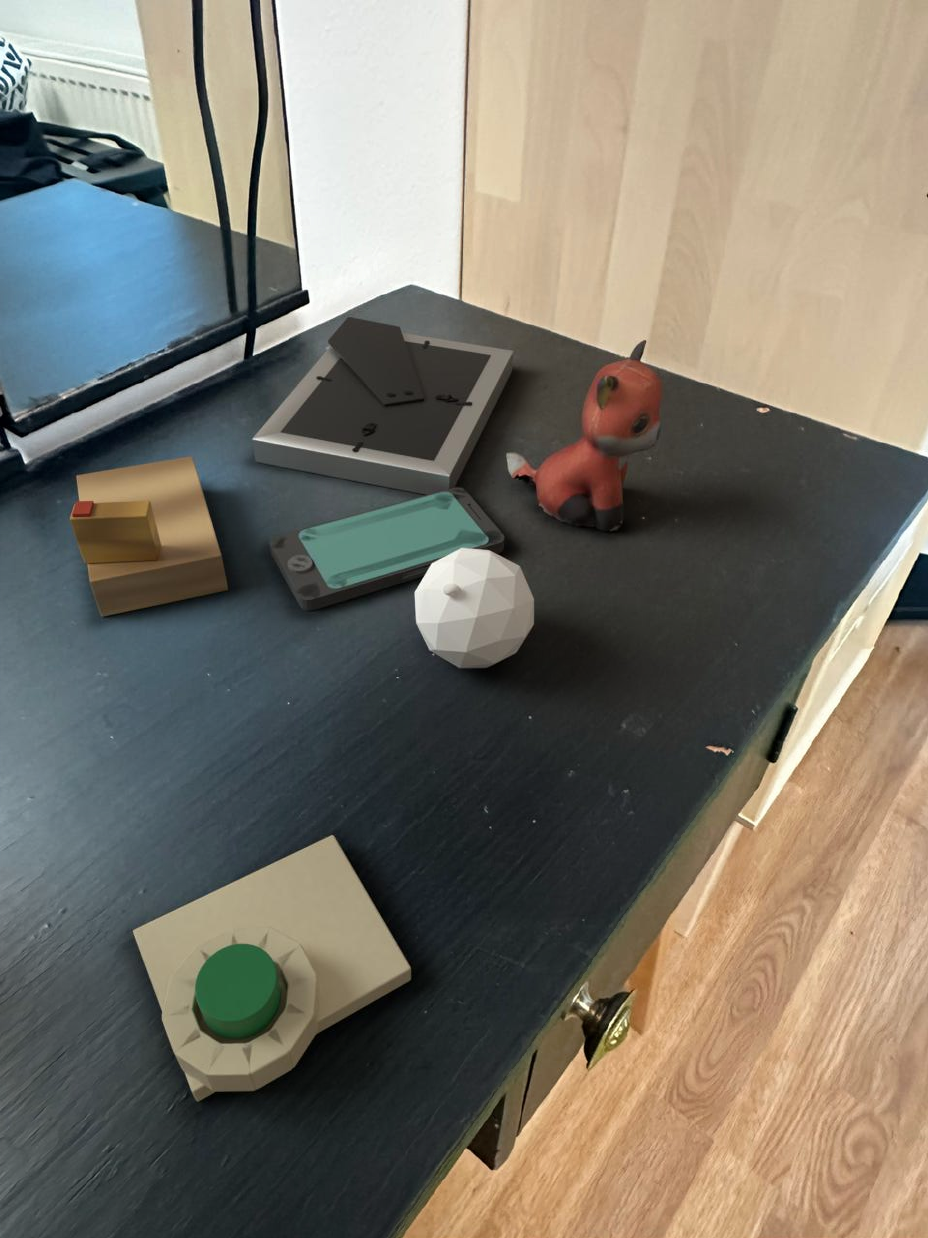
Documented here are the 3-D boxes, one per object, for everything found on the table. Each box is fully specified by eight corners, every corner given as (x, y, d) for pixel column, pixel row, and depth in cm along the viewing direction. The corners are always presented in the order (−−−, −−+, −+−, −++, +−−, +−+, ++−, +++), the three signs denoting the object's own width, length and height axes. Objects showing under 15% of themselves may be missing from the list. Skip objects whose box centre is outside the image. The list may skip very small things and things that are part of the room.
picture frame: (349, 345, 84) (255, 462, 70) (348, 316, 82) (250, 430, 68) (511, 371, 82) (448, 499, 67) (514, 342, 80) (449, 467, 65)
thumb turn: (161, 544, 57) (149, 496, 55) (158, 560, 56) (145, 512, 54) (88, 547, 57) (73, 499, 54) (84, 563, 56) (67, 515, 53)
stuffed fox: (517, 454, 72) (530, 311, 64) (653, 490, 69) (686, 344, 61) (483, 505, 67) (492, 356, 58) (628, 545, 64) (660, 395, 56)
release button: (218, 1055, 35) (211, 1038, 34) (191, 986, 37) (183, 967, 36) (293, 1013, 36) (289, 995, 35) (263, 949, 38) (258, 929, 37)
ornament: (554, 670, 54) (516, 639, 47) (442, 685, 57) (389, 657, 50) (546, 562, 57) (507, 517, 49) (437, 580, 59) (386, 540, 52)
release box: (206, 1133, 36) (193, 1107, 33) (136, 942, 41) (121, 910, 39) (425, 1004, 40) (426, 973, 38) (334, 847, 45) (330, 812, 43)
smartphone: (266, 535, 61) (461, 482, 66) (268, 550, 62) (461, 496, 67) (302, 601, 57) (509, 539, 62) (304, 616, 57) (508, 553, 63)
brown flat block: (228, 590, 59) (221, 555, 57) (101, 617, 57) (89, 581, 54) (199, 489, 67) (192, 455, 65) (86, 509, 65) (75, 474, 62)
